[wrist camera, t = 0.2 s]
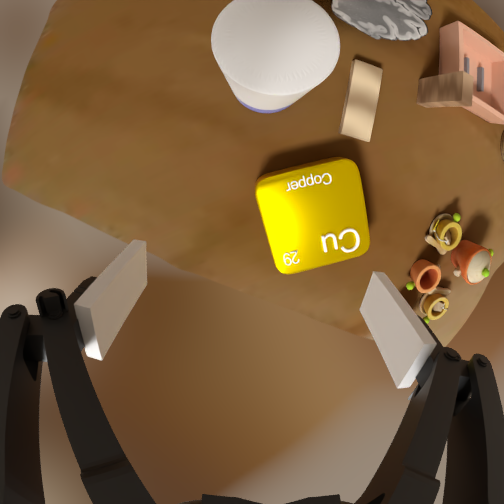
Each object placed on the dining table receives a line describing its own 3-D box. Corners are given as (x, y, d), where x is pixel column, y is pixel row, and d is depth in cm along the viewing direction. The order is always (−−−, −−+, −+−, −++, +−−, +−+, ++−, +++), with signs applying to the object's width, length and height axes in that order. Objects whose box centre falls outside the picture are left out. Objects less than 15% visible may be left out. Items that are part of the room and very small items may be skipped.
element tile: (347, 153, 40) (358, 156, 35) (363, 242, 45) (373, 254, 41) (251, 177, 42) (250, 182, 37) (276, 265, 47) (278, 279, 43)
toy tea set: (438, 200, 42) (470, 217, 33) (482, 234, 44) (510, 253, 35) (369, 319, 52) (385, 351, 43) (419, 335, 54) (437, 364, 45)
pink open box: (439, 28, 29) (458, 20, 23) (491, 61, 29) (510, 58, 24) (437, 94, 34) (457, 92, 29) (488, 122, 35) (509, 125, 29)
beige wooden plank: (351, 62, 34) (355, 59, 32) (377, 71, 34) (382, 69, 32) (337, 133, 39) (341, 133, 37) (364, 141, 39) (369, 141, 37)
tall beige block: (419, 79, 34) (463, 70, 23) (428, 83, 34) (473, 76, 23) (416, 103, 35) (461, 100, 24) (426, 107, 35) (471, 106, 24)
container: (281, 40, 33) (303, -24, 14) (313, 97, 36) (362, 70, 18) (219, 67, 34) (190, 16, 16) (250, 124, 38) (246, 115, 20)
